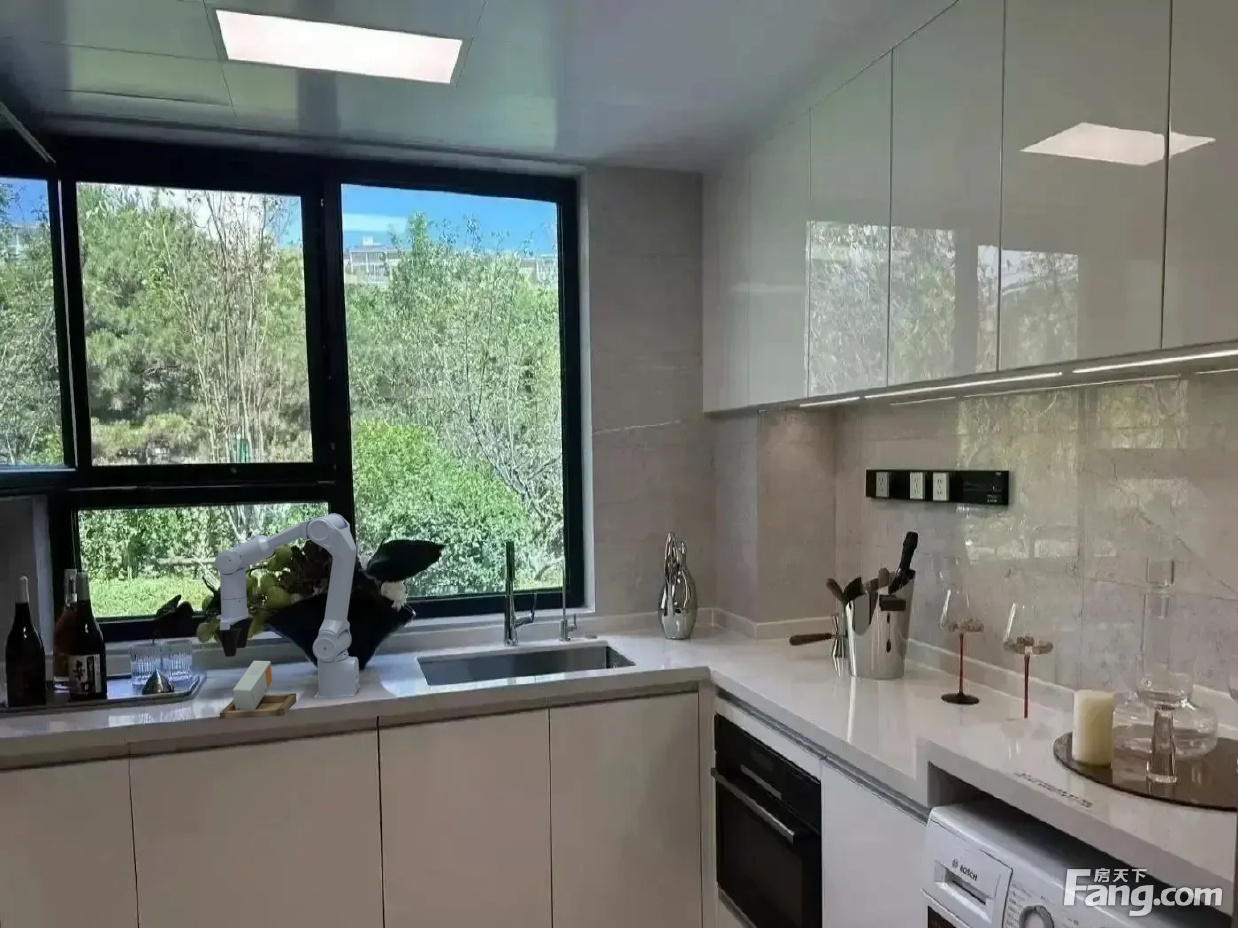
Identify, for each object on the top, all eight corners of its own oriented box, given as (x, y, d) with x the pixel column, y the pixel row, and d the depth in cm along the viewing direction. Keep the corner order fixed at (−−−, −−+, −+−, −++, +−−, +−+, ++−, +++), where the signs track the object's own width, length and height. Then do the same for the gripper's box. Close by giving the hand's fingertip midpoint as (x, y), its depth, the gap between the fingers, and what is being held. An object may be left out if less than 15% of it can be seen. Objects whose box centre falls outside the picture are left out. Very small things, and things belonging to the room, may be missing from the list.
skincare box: (273, 681, 198) (253, 712, 187) (256, 681, 198) (234, 712, 187) (271, 660, 196) (250, 690, 185) (253, 659, 196) (231, 689, 185)
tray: (296, 703, 195) (296, 693, 195) (283, 720, 183) (282, 709, 183) (237, 706, 193) (237, 696, 193) (220, 724, 182) (219, 713, 182)
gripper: (227, 591, 208) (229, 644, 209) (205, 604, 194) (207, 660, 195) (256, 590, 209) (257, 643, 210) (236, 603, 195) (238, 659, 196)
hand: (235, 651), depth 202 cm, fingers open, 7 cm apart
